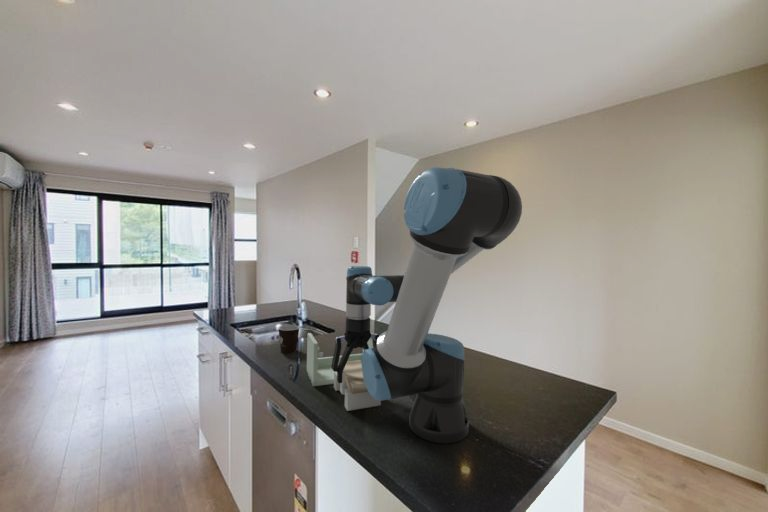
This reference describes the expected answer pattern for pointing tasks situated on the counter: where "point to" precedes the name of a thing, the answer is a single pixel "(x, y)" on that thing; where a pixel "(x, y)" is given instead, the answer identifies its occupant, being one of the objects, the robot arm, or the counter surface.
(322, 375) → the shelf unit
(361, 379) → the stacked rolled towels
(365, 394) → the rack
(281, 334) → the coffee mug
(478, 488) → the counter surface
